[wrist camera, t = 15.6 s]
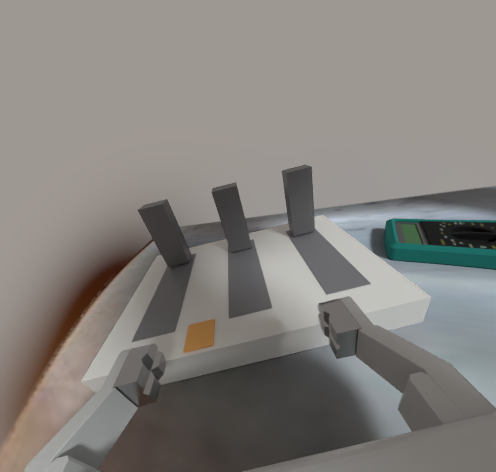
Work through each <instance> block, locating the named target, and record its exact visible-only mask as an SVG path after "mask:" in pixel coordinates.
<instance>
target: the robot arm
mask: <svg viewBox="0 0 496 472" xmlns="http://www.w3.org/2000/svg"><path fill="white" fill-rule="evenodd" d="M318 310H319V312H320V313H319V315H318V318H319V323H320V326H321V329H322V331H323V333H324V335H325V336H327V337H328V338H329V345H330V347H331V349H332V351H333V352H334V354H335V356H336V358H337V359H339V358H344V357H349V356H353V355H356V357H358V358H359V359H360V360H361V361H363V362H364V363H365V364H366V365H368V366H369V367H370V368H371V369H373V370H374V371H375V372H376V373H378V374H379V375H380V376H381V377H383V378H384V379H385V380H386V381H388V382H389V383H390V384H391V385H393V386H394V387H395V388H396V389H398V390H399V391H400V392H401V393H403V395H402V398H401V400H400V403H399V407H398V410H399V412H400V414H401V415H402V417H403V418H404V420H405V422H406V423H407V425H408V426H409V428H410V429H411V431H412V432H408V433H404V434H400V435H395V436H391V437H387V438H383V439H378V440H374V441H370V442H366V443H361V444H357V445H353V446H348V447H344V448H340V449H336V450H331V451H327V452H323V453H319V454H314V455H310V456H306V457H302V458H297V459H293V460H289V461H284V462H280V463H276V464H272V465H267V466H263V467H259V468H255V469H250V470H246V471H242V472H496V408H495V407H494V406H493V405H492V404H491V403H490V402H489V401H488V400H487V399H486V398H485V397H484V396H483V395H482V394H481V393H480V392H479V391H478V390H477V389H476V388H475V387H474V386H473V385H472V384H471V383H470V382H469V381H468V380H467V379H466V378H465V377H464V376H463V375H462V374H461V373H460V372H459V371H458V370H457V369H456V368H455V367H454V366H453V365H451V364H450V363H448V362H446V361H445V360H443V359H441V358H439V357H437V356H435V355H433V354H431V353H430V352H428V351H426V350H424V349H422V348H420V347H418V346H416V345H414V344H413V343H411V342H409V341H407V340H405V339H403V338H401V337H399V336H397V335H396V334H394V333H392V332H390V331H388V330H386V329H384V328H382V327H381V326H379V325H375V326H374V325H373V324H372V322H371V321H370V320H369V319H368V317H367V316H366V315H365V314H364V312H363V311H362V310H361V309H360V308H359V306H358V305H357V304H356V303H355V301H354V300H353V299H352V298H351V297H350V296H347V297H343V298H339V299H334V300H330V301H326V302H322V303H318ZM157 350H158V346H157V345H156V344H155V343H154V344H150V345H145V346H140V347H136V348H131V349H127V350H123V351H122V352H121V353H120V354H119V355H118V357H117V359H116V361H115V363H114V365H113V367H112V369H111V371H110V372H109V374H108V376H107V378H106V380H105V382H104V384H103V386H102V388H101V390H100V391H99V392H96V393H95V394H94V395H93V396H92V397H91V398H90V400H89V401H88V402H87V403H86V404H85V405H84V406H83V407H82V408H81V409H80V410H79V411H78V412H77V413H76V414H75V415H74V416H73V417H72V418H71V419H70V420H69V421H68V423H67V424H66V425H65V426H64V427H63V428H62V429H61V430H60V431H59V432H58V433H57V434H56V435H55V436H54V437H53V438H52V439H51V440H50V441H49V442H48V443H47V445H46V446H45V447H44V448H43V449H42V450H41V451H40V452H39V453H38V454H37V455H36V456H35V457H34V458H33V459H32V460H31V461H30V462H29V464H28V465H27V467H26V468H25V470H24V472H102V471H100V470H98V468H99V467H100V465H101V464H102V462H103V461H104V459H105V458H106V456H107V455H108V453H109V452H110V450H111V449H112V447H113V445H114V444H115V442H116V441H117V439H118V438H119V436H120V435H121V433H122V432H123V430H124V429H125V427H126V426H127V424H128V423H129V421H130V420H131V418H132V416H133V415H134V413H135V412H136V410H137V409H138V407H139V406H143V405H147V404H150V403H154V402H156V401H157V397H158V393H159V390H160V386H161V383H160V381H159V379H160V378H161V377H162V375H163V374H164V371H165V367H166V359H165V356H164V354H163V353H162V352H160V351H157Z"/></svg>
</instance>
